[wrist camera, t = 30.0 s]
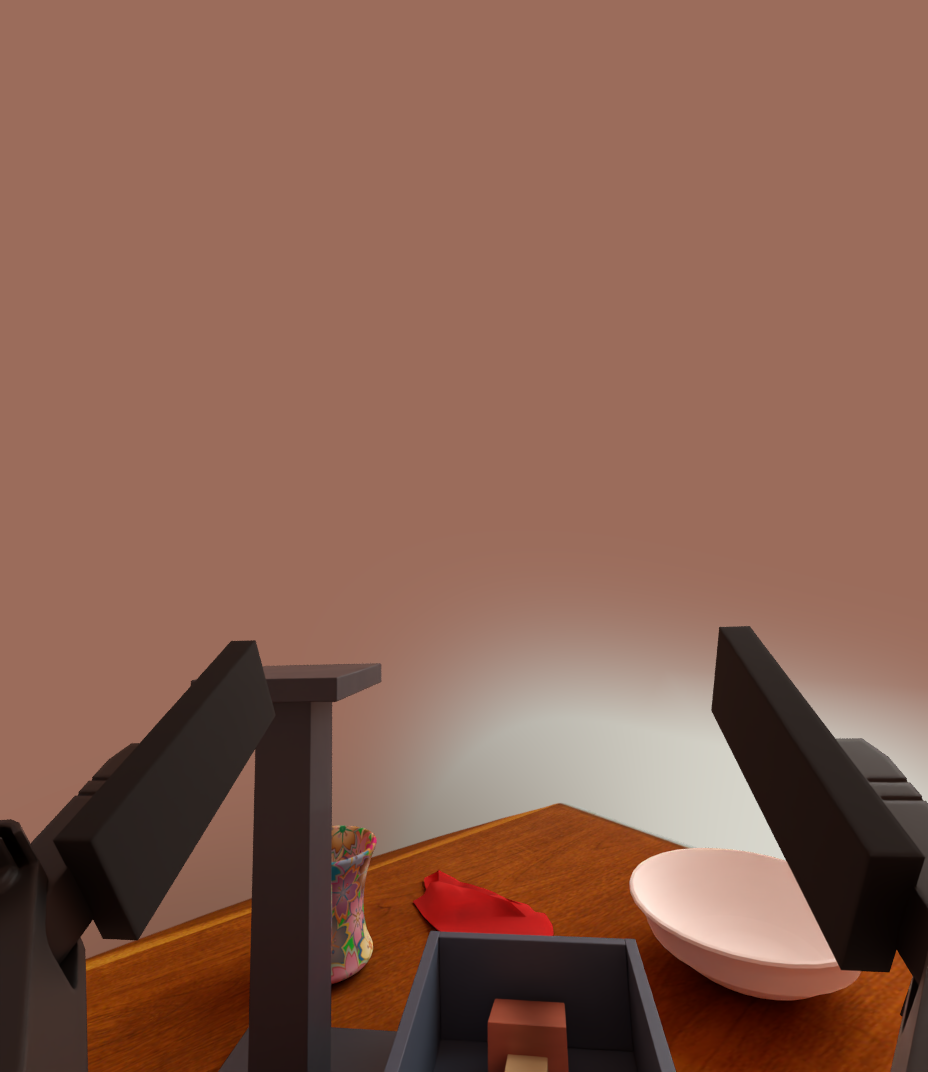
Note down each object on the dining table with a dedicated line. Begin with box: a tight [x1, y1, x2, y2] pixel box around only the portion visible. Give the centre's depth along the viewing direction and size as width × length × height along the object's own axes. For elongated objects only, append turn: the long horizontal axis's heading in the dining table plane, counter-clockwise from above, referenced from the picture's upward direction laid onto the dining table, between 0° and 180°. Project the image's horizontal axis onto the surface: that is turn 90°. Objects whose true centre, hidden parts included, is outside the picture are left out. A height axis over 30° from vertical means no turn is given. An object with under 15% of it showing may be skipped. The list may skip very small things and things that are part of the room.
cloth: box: [413, 870, 553, 936], centre depth 55 cm, size 26×14×2 cm, turn 9°
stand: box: [191, 663, 397, 1072], centre depth 37 cm, size 12×12×28 cm
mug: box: [331, 826, 376, 984], centre depth 50 cm, size 12×9×11 cm
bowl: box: [629, 848, 861, 1000], centre depth 48 cm, size 20×20×6 cm
